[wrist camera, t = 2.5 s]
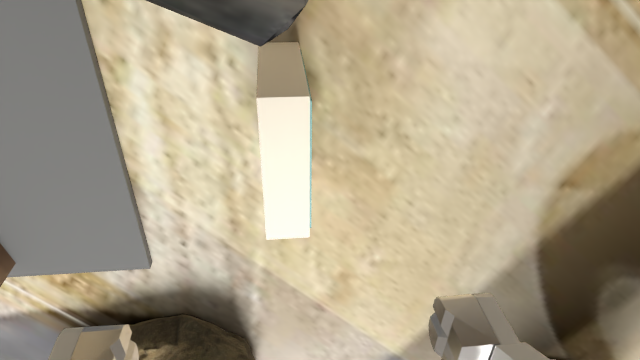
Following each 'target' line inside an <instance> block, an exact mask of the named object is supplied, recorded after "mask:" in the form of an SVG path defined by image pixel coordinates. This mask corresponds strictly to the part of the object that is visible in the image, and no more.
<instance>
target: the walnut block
mask: <svg viewBox="0 0 640 360" xmlns="http://www.w3.org/2000/svg"><path fill="white" fill-rule="evenodd" d="M15 264H16V263H15V261H14V260H13V259H12V258H11V256H10V255H9V254H8V252H7V251H6V250H5V249H4V247H3V246H2V245H1V243H0V287H1V285H2V283H3V282H4V280H5V279H6V277H7V276H8V274H9V273H10V271H11V270H12V268H13V267H14V265H15Z"/></svg>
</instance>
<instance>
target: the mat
mask: <svg viewBox="0 0 640 360" xmlns="http://www.w3.org/2000/svg"><path fill="white" fill-rule="evenodd" d="M0 243H1V245H2V246H3V247H4V249H5V250H6V251H7V252H8V254H9V255H10V256H11V258H12V259H13V260H14V261H15V263H16V264H15V265H14V267H13V268H12V270H11V271H10V273H9V274H8V276H7V277H20V276H36V275H52V274H68V273H85V272H101V271H117V270H133V269H150V267H151V264H152V260H151V256H150V252H149V249H148V245H147V241H146V238H145V234H144V230H143V227H142V223H141V219H140V216H139V212H138V208H137V205H136V201H135V197H134V194H133V190H132V186H131V183H130V179H129V175H128V172H127V168H126V164H125V161H124V157H123V153H122V150H121V146H120V142H119V139H118V135H117V131H116V128H115V124H114V120H113V116H112V113H111V109H110V105H109V102H108V98H107V94H106V91H105V87H104V83H103V80H102V76H101V72H100V69H99V65H98V61H97V58H96V54H95V50H94V47H93V43H92V39H91V36H90V32H89V28H88V25H87V21H86V17H85V14H84V10H83V6H82V3H81V0H0Z"/></svg>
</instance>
